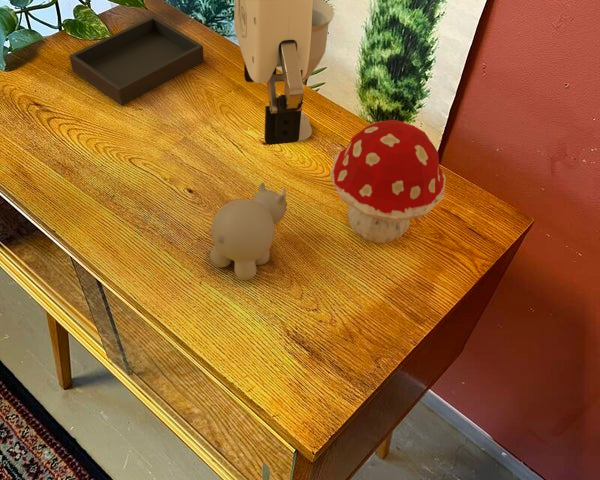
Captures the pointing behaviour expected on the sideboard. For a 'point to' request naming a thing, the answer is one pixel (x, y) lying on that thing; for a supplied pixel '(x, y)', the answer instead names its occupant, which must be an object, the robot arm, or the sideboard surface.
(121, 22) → the sideboard surface
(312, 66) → the chalice
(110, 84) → the tray
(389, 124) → the decorative mushroom
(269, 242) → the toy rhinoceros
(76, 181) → the sideboard surface
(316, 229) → the sideboard surface
